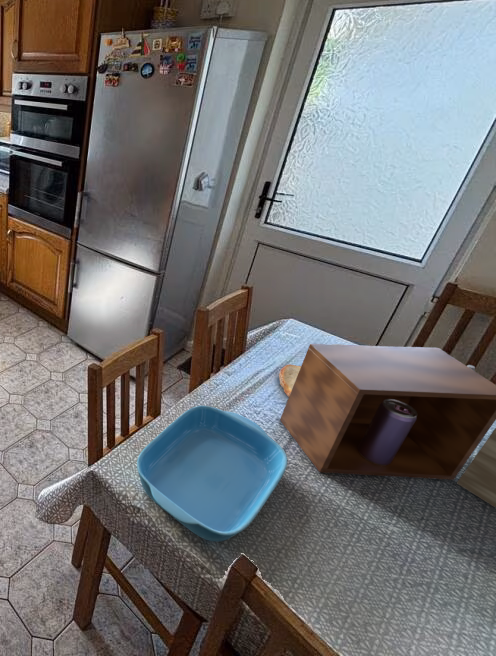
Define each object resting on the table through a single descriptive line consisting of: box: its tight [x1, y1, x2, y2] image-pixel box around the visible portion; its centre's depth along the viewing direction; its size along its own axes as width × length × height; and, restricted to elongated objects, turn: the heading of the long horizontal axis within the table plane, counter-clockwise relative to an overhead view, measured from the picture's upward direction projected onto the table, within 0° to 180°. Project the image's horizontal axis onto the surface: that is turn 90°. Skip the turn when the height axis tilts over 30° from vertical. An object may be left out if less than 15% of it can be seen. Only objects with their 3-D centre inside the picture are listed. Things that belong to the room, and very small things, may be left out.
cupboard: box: [279, 343, 496, 481], centre depth 95 cm, size 16×28×24 cm, turn 85°
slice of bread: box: [278, 363, 302, 398], centre depth 117 cm, size 18×18×4 cm
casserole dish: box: [136, 405, 289, 542], centre depth 91 cm, size 37×22×7 cm, turn 128°
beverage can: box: [358, 399, 418, 465], centre depth 93 cm, size 6×6×15 cm
